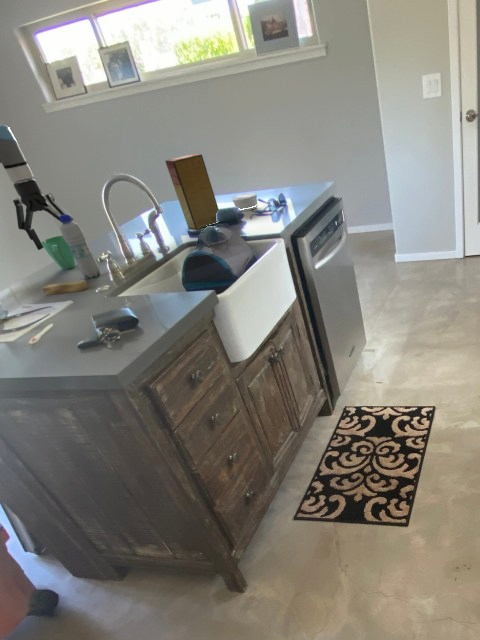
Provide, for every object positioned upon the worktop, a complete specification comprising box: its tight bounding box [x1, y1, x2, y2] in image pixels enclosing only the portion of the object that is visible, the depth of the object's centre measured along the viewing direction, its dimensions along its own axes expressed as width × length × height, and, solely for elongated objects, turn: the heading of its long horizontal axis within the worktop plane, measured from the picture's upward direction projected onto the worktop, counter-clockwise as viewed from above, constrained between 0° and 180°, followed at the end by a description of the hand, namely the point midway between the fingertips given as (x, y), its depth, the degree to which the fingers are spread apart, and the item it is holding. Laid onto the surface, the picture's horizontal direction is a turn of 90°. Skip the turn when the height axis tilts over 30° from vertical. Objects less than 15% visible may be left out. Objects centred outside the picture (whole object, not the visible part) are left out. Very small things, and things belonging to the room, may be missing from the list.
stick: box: [42, 279, 89, 296], centre depth 175 cm, size 14×3×2 cm, turn 89°
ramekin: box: [231, 192, 258, 212], centre depth 238 cm, size 11×11×5 cm
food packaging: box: [164, 153, 220, 231], centre depth 218 cm, size 13×9×25 cm
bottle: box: [59, 214, 101, 279], centre depth 179 cm, size 7×7×20 cm
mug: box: [40, 235, 76, 270], centre depth 195 cm, size 15×10×10 cm
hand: (57, 246), depth 194 cm, fingers open, 13 cm apart
